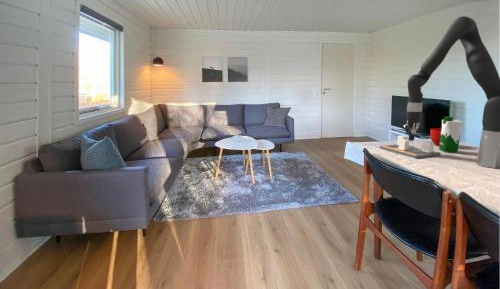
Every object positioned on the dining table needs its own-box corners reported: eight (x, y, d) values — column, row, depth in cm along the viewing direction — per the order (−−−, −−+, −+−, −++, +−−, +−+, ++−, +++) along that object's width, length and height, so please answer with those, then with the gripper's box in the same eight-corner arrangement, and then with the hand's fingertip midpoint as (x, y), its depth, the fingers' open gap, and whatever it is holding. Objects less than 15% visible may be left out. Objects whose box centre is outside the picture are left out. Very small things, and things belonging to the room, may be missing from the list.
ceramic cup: (464, 147, 179) (466, 131, 177) (434, 147, 181) (436, 131, 179) (452, 143, 191) (454, 128, 189) (425, 142, 193) (426, 128, 191)
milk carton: (436, 149, 176) (441, 116, 172) (453, 149, 174) (458, 116, 170) (442, 152, 168) (447, 117, 164) (460, 153, 166) (465, 118, 162)
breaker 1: (406, 145, 178) (407, 136, 177) (402, 146, 177) (403, 137, 176) (400, 144, 182) (401, 135, 181) (396, 144, 181) (397, 135, 180)
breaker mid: (408, 149, 167) (409, 140, 166) (404, 150, 166) (405, 140, 165) (402, 148, 171) (403, 139, 170) (397, 148, 170) (398, 139, 169)
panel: (440, 155, 161) (440, 152, 161) (415, 158, 155) (416, 155, 155) (402, 145, 185) (402, 143, 185) (379, 148, 179) (379, 145, 179)
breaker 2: (433, 152, 161) (434, 142, 160) (428, 152, 160) (429, 142, 159) (426, 150, 165) (427, 140, 164) (421, 151, 164) (422, 141, 163)
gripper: (410, 111, 160) (407, 142, 163) (428, 110, 164) (425, 140, 167) (399, 110, 167) (397, 140, 170) (417, 109, 171) (414, 138, 174)
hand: (411, 140), depth 169 cm, fingers closed
